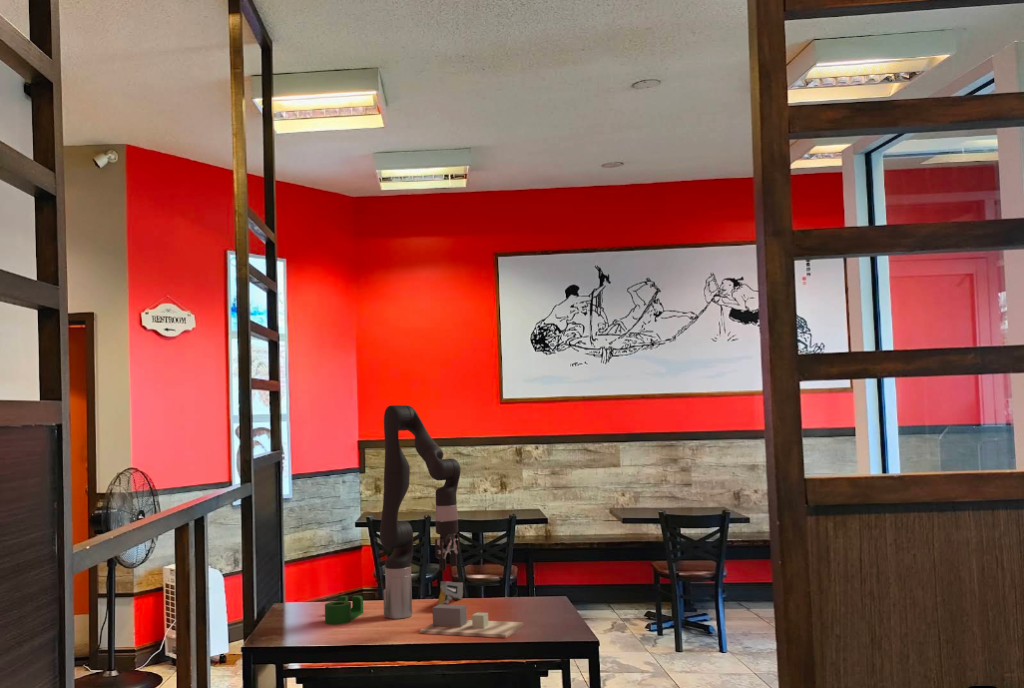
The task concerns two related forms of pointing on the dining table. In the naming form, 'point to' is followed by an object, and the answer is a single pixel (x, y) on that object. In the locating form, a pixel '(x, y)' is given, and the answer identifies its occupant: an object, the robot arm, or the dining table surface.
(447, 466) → the robot arm
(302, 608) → the dining table surface
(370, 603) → the dining table surface
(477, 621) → the wood offcut
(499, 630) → the plywood board
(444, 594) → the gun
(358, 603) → the green bracket
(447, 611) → the block
